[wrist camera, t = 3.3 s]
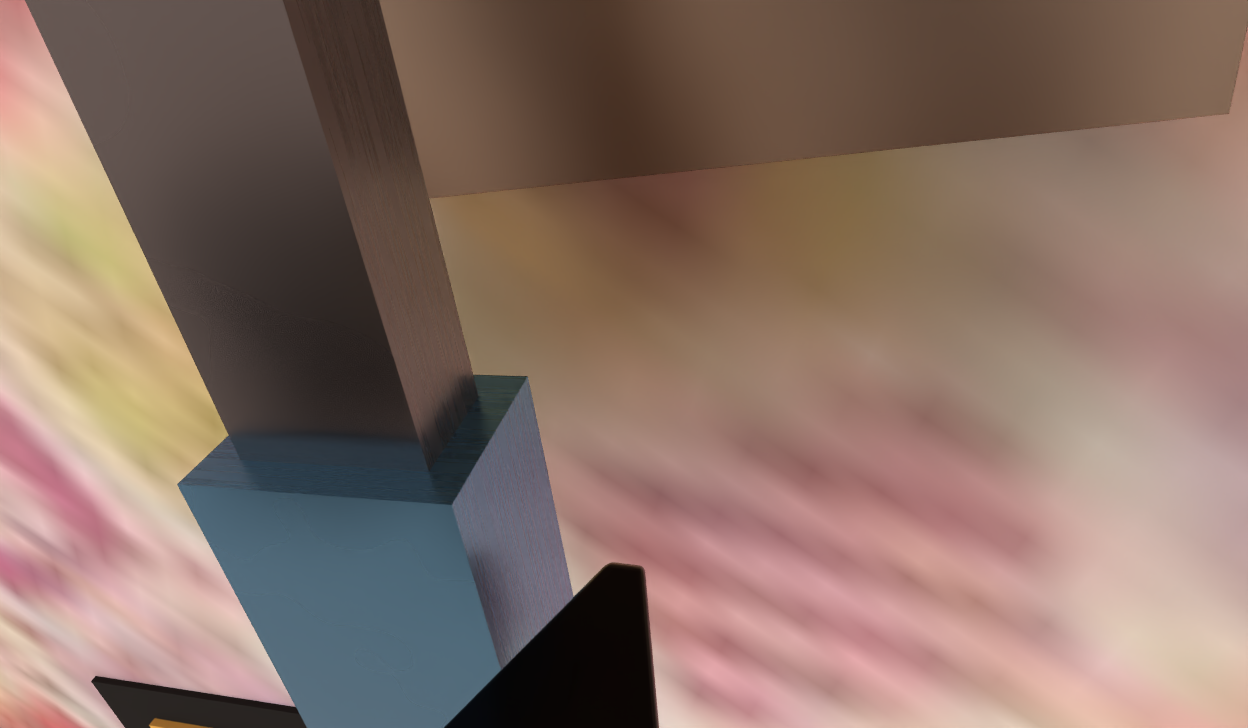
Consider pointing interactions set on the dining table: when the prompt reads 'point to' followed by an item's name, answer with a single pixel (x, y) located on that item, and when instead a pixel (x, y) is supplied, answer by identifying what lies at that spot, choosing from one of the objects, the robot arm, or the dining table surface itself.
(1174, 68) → the valve board
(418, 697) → the lever
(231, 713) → the sushi
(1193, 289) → the dining table surface
